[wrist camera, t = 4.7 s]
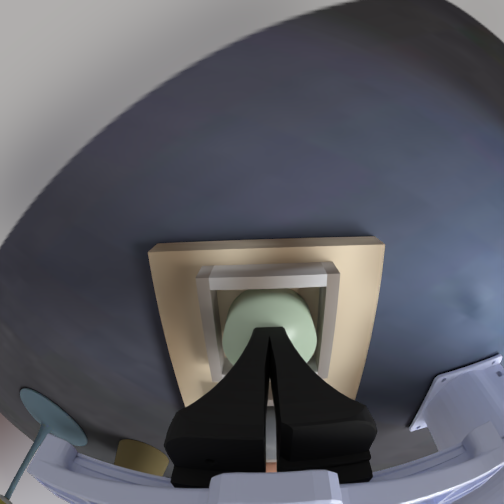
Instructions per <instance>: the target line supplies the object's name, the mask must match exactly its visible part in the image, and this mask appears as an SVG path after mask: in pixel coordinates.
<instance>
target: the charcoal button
mask: <svg viewBox="0 0 504 504" xmlns="http://www.w3.org/2000/svg"><path fill="white" fill-rule="evenodd" d="M272 459H276V420H275V411H274V406H267V413H266V460H272Z"/></svg>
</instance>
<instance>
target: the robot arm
mask: <svg viewBox="0 0 504 504" xmlns="http://www.w3.org/2000/svg"><path fill="white" fill-rule="evenodd" d="M501 359H502V355H501V354H499V355H496V356H494V357H491V358H488V359H486V360H483V361H480V362H478V363H475V364H472V365H469V366H466V367H463V368H460V369H457V370H454V371H450V372H447V373H444V374H440V375H438V376H436V377H435V379H434V380H433V383H432V385H431V387H430V389H429V391H428V393H427V395H426V397H425V399H424V401H423V403H422V405H421V407H420V409H419V411H418V413H417V414H416V416H415V418H414V420H413V422H412V423H411V425H410V427H409V430H410V431H415V430H418V429H421V428H424V427H428V429H429V431H430V433H431V435H432V437H433V440H434V442H435V444H436V446H437V448H438V451H439V452H437V453H434V454H431V455H429V456H426V457H423V458H420V459H417V460H414V461H411V462H408V463H405V464H402V465H398V466H395V467H391V468H388V469H384V470H380V471H376V472H372V470H371V466H370V462H369V460H370V459H371V455H370V452H369V449H370V447H371V445H372V443H373V441H374V439H375V437H376V434H377V428H376V424H375V422H374V419H373V417H372V415H371V414H370V412H369V410H368V408H367V407H366V406H365V405H363V404H361V403H359V402H357V401H355V400H353V399H351V398H349V397H347V396H345V395H344V394H342V393H340V392H339V391H337V390H336V389H335V388H333V387H332V386H330V385H329V384H328V383H326V382H325V381H324V380H323V379H322V378H321V377H320V376H319V375H317V374H316V373H315V372H314V371H313V370H312V368H311V367H310V366H309V365H308V364H307V363H306V362H305V360H304V359H303V358H302V357H301V355H300V354H299V353H298V351H297V350H296V348H295V347H294V345H293V344H292V342H291V340H290V339H289V337H288V335H287V333H286V331H285V328H283V327H256V328H255V329H253V332H252V335H251V338H250V340H249V342H248V344H247V346H246V347H245V349H244V351H243V353H242V354H241V356H240V357H239V359H238V360H237V362H236V363H235V364H234V366H233V367H232V368H231V370H230V371H229V372H228V373H227V374H226V375H225V376H224V378H223V379H222V380H221V381H220V382H219V383H218V384H217V385H216V386H214V387H213V388H212V389H211V390H210V391H209V392H207V393H206V394H205V395H203V396H202V397H201V398H199V399H198V400H197V401H195V402H194V403H192V404H190V405H189V406H187V407H185V408H183V409H182V410H180V411H178V412H177V413H176V414H175V416H174V418H173V420H172V422H171V424H170V426H169V429H168V432H167V435H166V439H165V442H164V447H165V450H166V452H167V454H168V455H169V457H170V459H171V461H172V462H173V464H174V469H173V473H172V477H171V478H167V477H162V476H157V475H152V474H147V473H143V472H139V471H135V470H131V469H127V468H123V467H120V466H116V465H113V464H110V463H107V462H103V461H100V460H97V459H94V458H92V457H89V456H86V455H83V454H81V453H78V452H77V450H76V449H75V448H74V446H73V445H71V444H70V443H69V442H67V441H66V440H63V439H61V438H59V437H56V436H54V435H52V434H49V433H48V434H47V436H46V437H45V439H44V441H43V442H42V444H41V446H40V447H39V449H38V451H37V453H36V454H35V456H34V458H33V460H32V461H31V463H30V465H29V467H28V469H27V472H28V473H29V474H31V475H32V476H33V477H34V478H35V479H36V480H37V481H39V482H40V483H41V484H42V485H43V486H45V487H46V488H47V489H48V490H50V491H51V492H52V493H53V494H55V495H56V496H58V497H59V498H61V499H63V500H65V501H67V502H69V503H71V504H504V368H503V367H502V366H501V365H500V362H501ZM270 382H271V389H272V396H273V404H274V411H275V420H276V460H277V472H267V473H266V413H267V404H268V393H269V383H270Z"/></svg>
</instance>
